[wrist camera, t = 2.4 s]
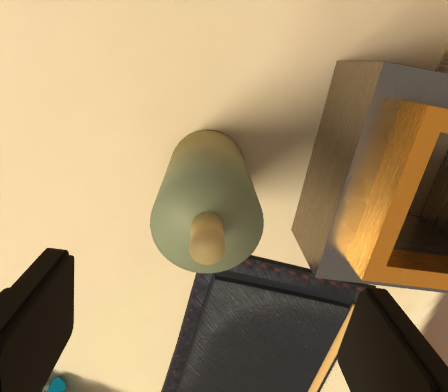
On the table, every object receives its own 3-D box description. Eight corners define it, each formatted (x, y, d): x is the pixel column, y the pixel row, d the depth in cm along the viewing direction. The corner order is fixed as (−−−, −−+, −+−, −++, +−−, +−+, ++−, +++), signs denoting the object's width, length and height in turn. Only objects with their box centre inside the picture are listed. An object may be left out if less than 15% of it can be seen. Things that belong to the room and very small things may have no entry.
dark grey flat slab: (206, 252, 24) (390, 297, 27) (206, 239, 26) (379, 282, 28) (145, 430, 31) (295, 453, 34) (149, 410, 33) (291, 434, 35)
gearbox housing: (356, -13, 19) (448, -57, 12) (539, 26, 21) (724, 8, 13) (291, 229, 25) (326, 300, 18) (437, 248, 27) (526, 321, 19)
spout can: (175, 124, 22) (147, 180, 12) (249, 136, 22) (284, 199, 12) (167, 194, 24) (137, 295, 14) (236, 203, 24) (257, 307, 14)
